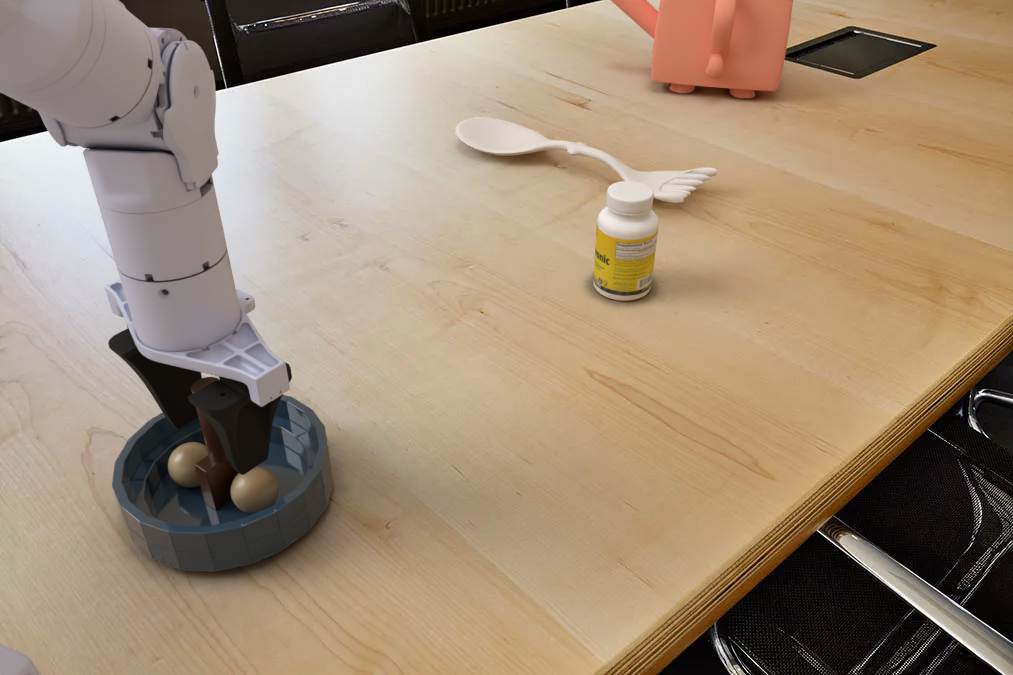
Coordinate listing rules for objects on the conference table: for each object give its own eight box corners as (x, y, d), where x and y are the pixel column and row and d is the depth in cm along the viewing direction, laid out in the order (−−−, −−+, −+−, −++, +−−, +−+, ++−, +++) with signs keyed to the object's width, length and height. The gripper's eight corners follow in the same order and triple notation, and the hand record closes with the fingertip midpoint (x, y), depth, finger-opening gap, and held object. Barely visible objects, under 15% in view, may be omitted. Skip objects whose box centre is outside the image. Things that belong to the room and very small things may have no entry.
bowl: (210, 615, 50) (196, 570, 47) (88, 509, 56) (70, 465, 54) (374, 487, 58) (369, 443, 56) (251, 408, 65) (242, 365, 62)
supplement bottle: (589, 271, 81) (596, 176, 76) (646, 271, 81) (657, 176, 76) (595, 302, 77) (602, 204, 71) (655, 302, 77) (667, 204, 71)
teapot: (593, 98, 119) (602, -39, 109) (612, 50, 137) (622, -72, 127) (778, 114, 115) (806, -27, 104) (773, 62, 133) (796, -63, 122)
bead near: (252, 523, 53) (235, 478, 53) (232, 520, 55) (216, 477, 55) (293, 501, 55) (277, 458, 55) (272, 500, 57) (257, 458, 57)
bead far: (181, 502, 57) (169, 482, 54) (168, 465, 58) (157, 444, 56) (225, 484, 58) (216, 464, 55) (212, 448, 59) (202, 427, 57)
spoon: (678, 225, 89) (682, 194, 87) (441, 150, 104) (440, 123, 102) (715, 194, 95) (720, 165, 93) (485, 127, 110) (485, 101, 108)
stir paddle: (219, 513, 55) (190, 406, 50) (201, 500, 56) (171, 394, 51) (263, 481, 58) (240, 376, 52) (245, 470, 59) (221, 365, 53)
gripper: (318, 269, 45) (344, 456, 53) (159, 191, 53) (203, 367, 60) (206, 328, 41) (253, 523, 49) (49, 234, 48) (112, 418, 56)
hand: (219, 441), depth 54 cm, fingers open, 6 cm apart
